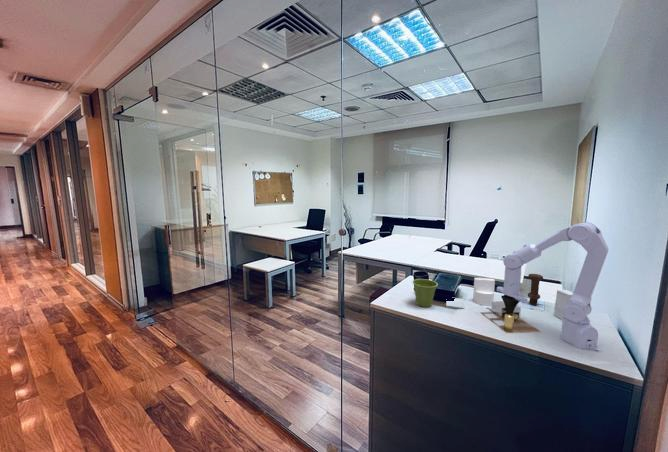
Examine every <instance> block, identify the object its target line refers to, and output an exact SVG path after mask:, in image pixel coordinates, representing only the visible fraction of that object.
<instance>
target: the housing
mask: <svg viewBox="0 0 668 452" xmlns="http://www.w3.org/2000/svg"><path fill="white" fill-rule="evenodd" d="M490 309H491V310H492V311H493V312H495V313H496V314H498V315H499V316H501V317H503V313H506V308H505V304H504V301H503V300H502V301H501V300H500V301H499V300H498V301H497V300H496V301H493V302H492V305H491V308H490ZM492 311H491V312H492ZM521 311H522V308H521V307H520V306H518V305H517V306H516V307H515V309H514V312H513V313H514V314H517V315H518V317H519V318H520V317H521Z"/></svg>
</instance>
